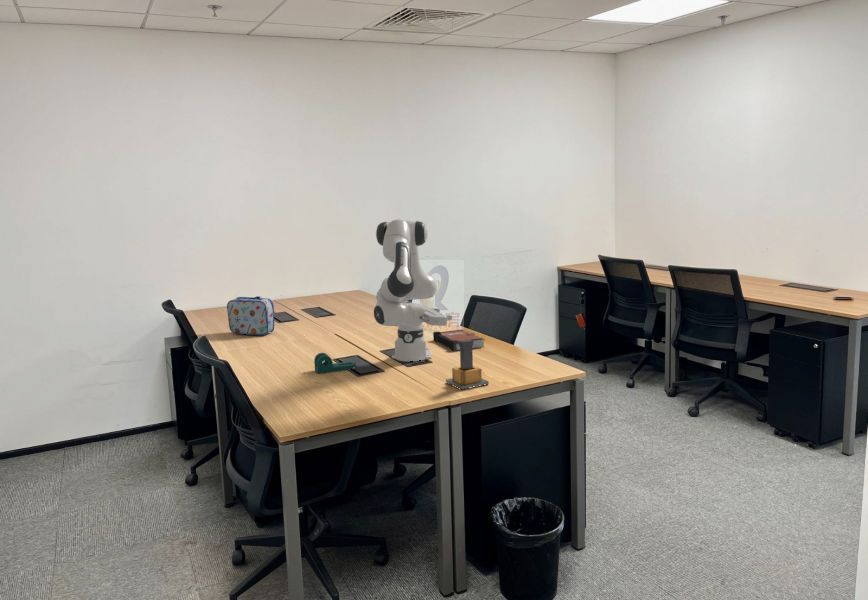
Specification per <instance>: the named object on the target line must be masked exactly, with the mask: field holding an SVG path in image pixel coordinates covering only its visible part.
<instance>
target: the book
mask: <svg viewBox="0 0 868 600" xmlns="http://www.w3.org/2000/svg"><path fill="white" fill-rule="evenodd" d="M432 336H433V341H434V342H435V343H438V342H439V344H440V345H442V346H443V347H446V348H448V349H450V350H451V351H452V352H460V351H459V350H460V346H459V341H462V340H469V339H470V340H473V346H472V350H474V349H473V348H476V349H481V348H480V347H484V348H485V346H484V342H485V340H486V339H485V338H483V337H480V336H478V335H476V334H475V332H470V331H467V330H465V329H455V330H446V331H438V330H437V331H433V332H432Z"/></svg>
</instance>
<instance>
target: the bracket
mask: <svg viewBox="0 0 868 600" xmlns="http://www.w3.org/2000/svg"><path fill="white" fill-rule="evenodd" d="M313 361H314V364H313V365H314V371H315V372H316V374H317V375H322V374H327V373H328V374H329V373H330V374H331V373H337V371H338V372H343V371H344V372H345V371H350V370H349V369H351V368H353V367H356V368H357V363H356V362H355V361H343V362H335V363H333V359H332V358H331V357H330V356H329V355H328V354H327V353H325V352H320V353H319V352H318V353H317V354H316V355H315V356H314V359H313ZM321 373H322V374H321Z"/></svg>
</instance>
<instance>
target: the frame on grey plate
mask: <svg viewBox="0 0 868 600" xmlns="http://www.w3.org/2000/svg"><path fill="white" fill-rule="evenodd" d="M451 369H452V370H451V371H452V372H451V373H452V378H447V379H445V383H446V382H447V383H449V384H451V385H454V386H456V387H458V388H460V389H464V388H469V387H473V386H479V385H484V384H489V380H487V379H484V378H483V377H482V368H481V367H477V366H475V365H473V369H472V370H466V371H462V370H461V366H457V367H451ZM447 383H446V384H447ZM449 384H448V385H449ZM451 385H450V386H451Z"/></svg>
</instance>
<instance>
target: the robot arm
mask: <svg viewBox="0 0 868 600" xmlns="http://www.w3.org/2000/svg"><path fill="white" fill-rule="evenodd" d="M375 238H376V241H377V244H379V245H380V246H382V254H383V257H384V258H385V259H386V260H387V261H389V262H391V263H393V270H392V271H391V272H390V274H389V276H388V277H385V278H384V279H383V280H382V282H381V285H380V287H379V289H378V290H377V291H376V295H375V296H376V305H375V307H374V308H373V317H374V320H375V321H376V323H377V324H379V325H381V326H384V327H397V339H395V340H394V354H392V355H391V359H394V360H397V361H398V362H399V361H400V362H404V363H405V362H406V363H409V362H410V361H413V362H420V361H419V360H421V361H424V360H430V359H432V354H431V350H430V349H429V348H428V347H427V341H426V339H425V336H424V328H423V323H425V324H427V325H429V326H438V327H440V326H441V327H445V326H447V324H448V323H447V322H448V321H452V320H453V315H451V314H446V315H445V314H443V313H442V312H440V311H441V310H440V309H439V308H433V307H430V306H428V305H426V304H424V303H421V302H420V303H419V302H412V301H411V300H426V299H431V298H433V297H434V296H435V295H436V293H437V290H438V289H437V288H438V287H437V286H438V285H437V282H436V280H435V279H434V278H433V277H432V276H430V275H429V274H428V273H426V272H425V271H424V270H423V268H422V266H421V263H420V256H419V246H422V245H424V244H425V243H426V241H427V239H428V229H427V226H426V223H424V222H422V221H419V220H416V221H412V220H403V219H400V218H399V219H393V220H391V221H383V222H380V223H379V224H377V227H376V230H375ZM409 300H410V301H409Z"/></svg>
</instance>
